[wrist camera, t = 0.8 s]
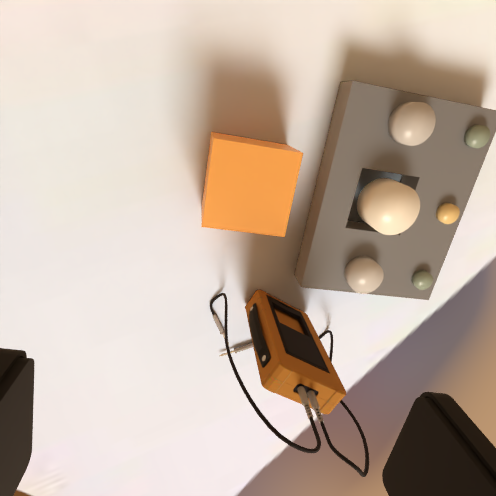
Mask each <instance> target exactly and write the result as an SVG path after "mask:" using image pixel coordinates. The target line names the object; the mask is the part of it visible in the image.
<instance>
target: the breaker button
mask: <svg viewBox="0 0 496 496" xmlns="http://www.w3.org/2000/svg"><path fill="white" fill-rule="evenodd" d="M357 211H358V214H359V216H360V218H361V219H362V220H363V221H365V222H366V223H367V224H369V225H370V226H371V227H373V228H374V229H375V230H377V231H378V232H380V233H382V234H385V235H396V234H399V233H402V232H404V231H405V230H407V229H408V228H409V227H410V226H411V225H412V224H413V223H414V222H415V220H416V218H417V216H418V214H419V211H420V200H419V196H418V194H417V193H416V191H415V190H414V189H412V188H411V187H409V186H407V185H404V184H402V183H400V182H397V181H395V180H392V179H390V178H378V179H375V180H373V181H371V182H370V183H368V184H367V185H366V186H365V187H364V188H363V189H362V191H361V192H360V194H359V196H358V199H357Z"/></svg>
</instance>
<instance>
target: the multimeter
mask: <svg viewBox="0 0 496 496" xmlns="http://www.w3.org/2000/svg"><path fill="white" fill-rule="evenodd" d="M222 295H223V296H224V298H225V331H224V330H223V327H222V325H221V323H220V321H219V319H218V317H217V316H216V314H214V311H213V309H212V304H213V302H214V301H215V300H216V299H217V298H218V297H220V296H222ZM210 309H211V312H212V314H213V318H214V321H215V323H216V325H217V327H218V329H219V331H220V334H223V336H224V338H225V344H226V349H227V353H224V354H222V355H220V356H224V355H227V354H228V357H229V360H230V363H231V366H232V368H233V370H234V373H235V375H236V378H237V380H238V382H239V384H240V386H241V388H242V390H243V391H244V393H245V395H246V397H247V398H248V400H249V402H250V403H251V405H252V406H253V408H254V409H255V411H256V412H257V414H258V415H259V417H260V418H261V419H262V420H263V422H264V423H265V424H266V425H267V427H268V428H269V429H270V430H271V431H272V432H273V433H274V434H275V435H276V436H277V437H278V438H280V439H281V440H282V441H284V442H285V443H287V444H288V445H290V446H292V447H294V448H296V449H298V450H300V451H303V452H307V453H316V452H318V451H319V449H320V446H321V441H320V437H319V434H318V432H317V429H316V426H315V423H314V420H313V415H312V412H311V409H310V408H312V409H313V410H314V411H315V413H316V415H317V418H318V420H319V423H320V424H321V426H322V429H323V431H324V434H325V437H326V440H327V442H328V444H329V446H330V448H331V449H332V451H333V452H334V453H335V454H336V455H337V456H338V457H340V458H341V459H342V460H344V461H345V462H346V463H347V464H349V465H350V466H351V467H353V468H354V469H355V470H357V472H358V473H359V474H360V475H361V476H362V477H365V476H366V475H367V473H368V469H369V453H368V447H367V443H366V439H365V436H364V434H363V431H362V429H361V427H360V425H359V423H358V422H357V420H356V419H355V417H354V415H353V414H352V413H351V411H350V410H349V409H348V407H347V406H346V405H345V403H344V402H343V401H342V398H343V397H344V396H345V395H346V391H345V389H344V387H343V385H342V383H341V381H340V379H339V377H338V375H337V373H336V371H335V369H334V367H333V365H332V363H331V361H332V352H333V335H332V332H331V331H329V330H327V331H326V332H324V333H323V334H322V335H321V336H320V337H318V335H317V333H316V331H315V329H314V327H313V325H312V323H311V321H310V320H309V318H308V315H307V314H306V313H304V312H303V311H301V310H298V309H296V308H294V307H292V306H290V305H288V304H286V303H285V302H283V301H281V300H279V299H277V298H275V297H273V296H271V295H269V294H267V293H266V292H264V291H262V290H257V291H256V292H255V293H254V295H253V296H252V298H251V299H250V301H249V302H248V303H247V305H246V306H245V309H246V312H247V317H248V322H249V327H250V332H251V337H252V342H253V343H251V344H248V345H245V346H242V347H239V348H234V351H231V352H230V350H229V346H228V345H229V343H228V336H227V297H226V295H225V293H221V294H219V295H217V296H216V297H215V298H214V299H213V300H212V301H211V303H210ZM328 332H329V333H330V335H331V347H330V357H328V355H327V353H326V351H325V349H324V347H323V345H322V343H321V341H320V339H321V338H322V337H323V336H324V335H325V334H327V333H328ZM224 333H225V334H224ZM252 347H254V351H255V356H256V361H257V365H258V370H259V374H260V379H261V384H262V386H263V387H264V388H265V389H267V390H269V391H271V392H273V393H277V394H279V395H281V396H284V397H286V398H288V399H291V400H293V401H296V402H298V403H300V404H302V405H303V406H304V407H305V410H306V413H307V416H308V419H310V422H311V425H312V428H313V431H314V433H315V436H316V439H317V447H316V448H314V449H307V448H304V447H301V446H299V445H297V444H295V443H293V442H291V441H290V440H288V439H287V438H285V437H284V436H283V435H281V434H280V433H279V432H278V431H277V430H276V429H275V428H274V427H273V426H272V425H271V424H270V423H269V422H268V420H267V419H266V418H265V417H264V415H263V414H262V413H261V412H260V410H259V409H258V407H257V406H256V404H255V403H254V401H253V400H252V398H251V397H250V395H249V393H248V392H247V390H246V388H245V386H244V384H243V382H242V380H241V378H240V376H239V374H238V372H237V370H236V367H235V365H234V362H233V360H232V357H231V354H230V353H233V352H235V353H237V352H240V351H243V350H246V349H249V348H252ZM339 402H340V403H341V404H342V405H343V406H344V408H345V409H346V410H347V411H348V413H349V414H350V416H351V417H352V418H353V420H354V422H355V424H356V425H357V427H358V429H359V432H360V434H361V437H362V439H363V443H364V448H365V457H366V459H365V469H364V472H362V471H361V469H360V468H359V467H357V466H356V465H355V464H354V463H353V462H351V461H350V460H348V459H347V458H346V457H344V456H343V455H342V454H341V453H339V452H338V451H337V450H336V449H335V448H334V446H333V445H332V443H331V441H330V439H329V436H328V434H327V431H326V428H325V426H324V420H323V418H322V415H321V413H323V414H329V413H330V412H331V411H332V410H333V409H334V407H335V406H336V405H337V404H338V403H339Z"/></svg>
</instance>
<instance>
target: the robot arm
mask: <svg viewBox="0 0 496 496" xmlns="http://www.w3.org/2000/svg"><path fill="white" fill-rule="evenodd" d="M33 394H34V360H33V359H31V358H27V356H26V352H25V351H22V350H12V349H3V348H0V496H13V495H14V493H15V491H16V489H17V487H18V485H19V483H20V481H21V479H22V477H23V475H24V473H25V471H26V469H27V466H28V464H29V461H30V457H31V453H32V429H33ZM382 476H383V483H384V486H385V488H386V491H387V493H388V495H389V496H496V448H495V447H494V446H493V444H492V443H491V442H490V441H489V440H488V439H487V438H486V436H485V435H484V434H483V433H482V432H481V431H480V430H479V428H478V427H477V426H476V425H475V424H474V423H473V421H472V420H471V419H470V418H469V417H468V416H467V414H466V413H465V412H464V411H463V410H462V409H461V408H460V406H459V405H458V404H457V403H456V402H455V401H454V399H453V398H451V397H450V396H449V395H447V394H443V393H433V392H425V393H423V394H421V396H420V397H418V398H417V399H416V400H415V402H414V404H413V406H412V408H411V410H410V412H409V415H408V417H407V419H406V422H405V423H404V426H403V428H402V430H401V432H400V434H399V436H398V439H397V441H396V443H395V445H394V447H393V450H392V452H391V454H390V456H389V458H388V461H387V463H386V465H385V467H384V469H383V475H382Z"/></svg>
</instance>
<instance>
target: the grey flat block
mask: <svg viewBox="0 0 496 496" xmlns="http://www.w3.org/2000/svg"><path fill="white" fill-rule="evenodd" d="M495 132H496V110H491V109H487V108H482V107H477V106H472V105H467V104H463V103H458V102H453V101H448V100H443V99H439V98H434V97H429V96H424V95H419V94H415V93H410V92H405V91H400V90H395V89H391V88H386V87H381V86H376V85H371V84H366V83H362V82H357V81H346V82H340V86H339V90H338V94H337V99H336V103H335V107H334V111H333V115H332V119H331V124H330V128H329V132H328V136H327V140H326V144H325V149H324V153H323V157H322V161H321V165H320V169H319V174H318V178H317V182H316V186H315V190H314V194H313V199H312V203H311V207H310V211H309V215H308V219H307V224H306V228H305V232H304V236H303V240H302V244H301V249H300V253H299V257H298V261H297V265H296V269H295V274H294V275H295V277H296V279H297V281H298V282H299V284H300V286H301V287H304V288H314V289H324V290H334V291H344V292H354V293H361V294H375V295H385V296H395V297H405V298H415V299H425V300H429V298H430V295H431V293H432V290H433V288H434V285H435V283H436V280H437V277H438V275H439V272H440V270H441V267H442V265H443V262H444V260H445V257H446V255H447V252H448V250H449V247H450V245H451V242H452V240H453V237H454V235H455V232H456V230H457V227H458V225H459V222H460V220H461V217H462V215H463V212H464V210H465V207H466V205H467V202H468V200H469V197H470V195H471V192H472V190H473V187H474V184H475V182H476V179H477V177H478V174H479V172H480V169H481V167H482V164H483V162H484V159H485V157H486V154H487V152H488V149H489V147H490V144H491V142H492V139H493V137H494V134H495ZM362 168H366V169H372V170H378V171H385V172H391V173H397V174H403V175H402V179H401V182H400V183H402V184H404V185H407V186H409V187H411V188H412V189H414V190H415V191H416V193H417V194H418V196H419V200H420V211H419V214H418V216H417V218H416V220H415V222H414V223H413V224H412V225H411V226H410V227H409V228H408V229H407V230H405V231H404V232H402V233H399V234H396V235H385V234H382V233H380V232H378V231H377V230H375V229H374V228H373V227H371V226H370V225H369V224H367V223H362V222H354V221H347V220H348V217H349V213H350V210H351V206H352V203H353V199H354V196H355V192H356V188H357V185H358V181H359V178H360V174H361V171H362Z"/></svg>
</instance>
